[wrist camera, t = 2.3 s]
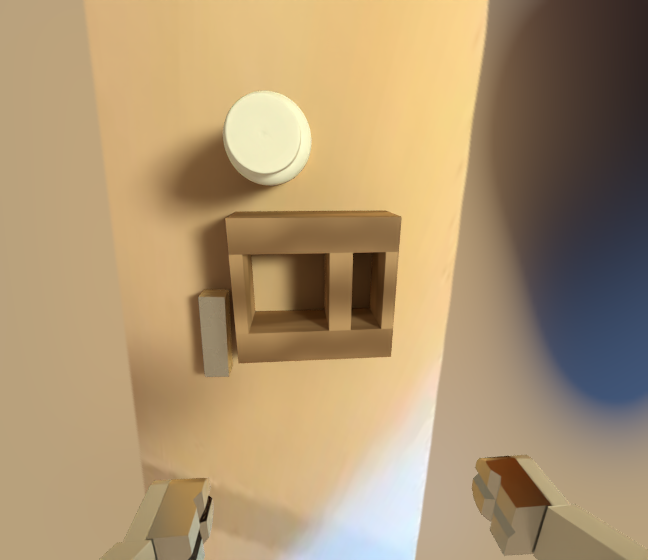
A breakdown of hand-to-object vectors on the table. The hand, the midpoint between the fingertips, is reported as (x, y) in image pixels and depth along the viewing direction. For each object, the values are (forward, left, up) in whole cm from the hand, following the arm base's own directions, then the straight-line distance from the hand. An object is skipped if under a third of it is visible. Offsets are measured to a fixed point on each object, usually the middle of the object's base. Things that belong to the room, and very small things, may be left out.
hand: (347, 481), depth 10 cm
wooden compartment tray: (0, 0, -21) cm, 21 cm away
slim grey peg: (+5, -9, -21) cm, 24 cm away
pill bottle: (-11, -3, -21) cm, 24 cm away
